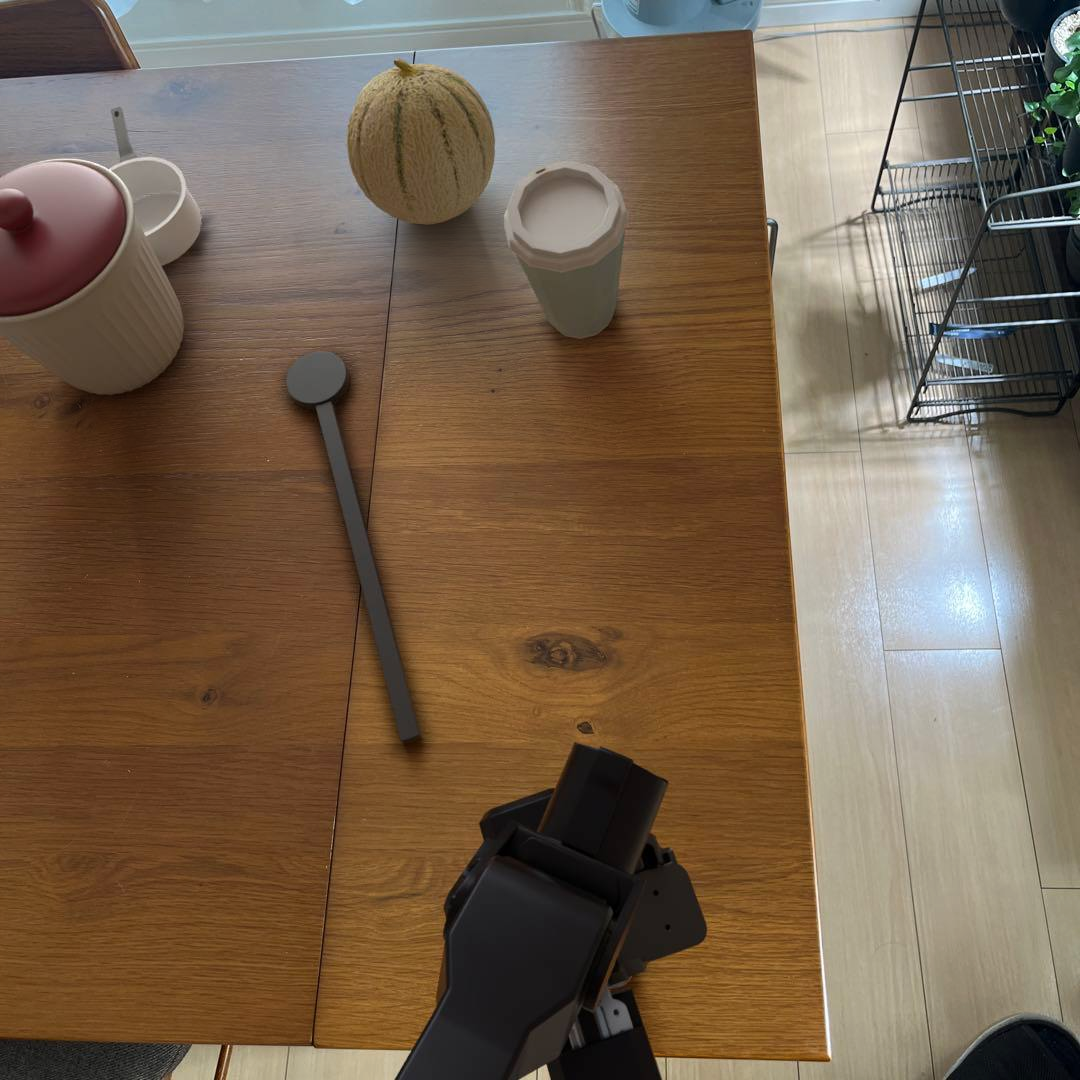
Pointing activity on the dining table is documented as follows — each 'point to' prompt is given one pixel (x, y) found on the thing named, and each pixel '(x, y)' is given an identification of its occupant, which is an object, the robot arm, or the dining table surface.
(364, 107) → the cantaloupe
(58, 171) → the canister
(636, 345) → the dining table surface
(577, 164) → the disposable coffee cup
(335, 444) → the spoon
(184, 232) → the saucepan
